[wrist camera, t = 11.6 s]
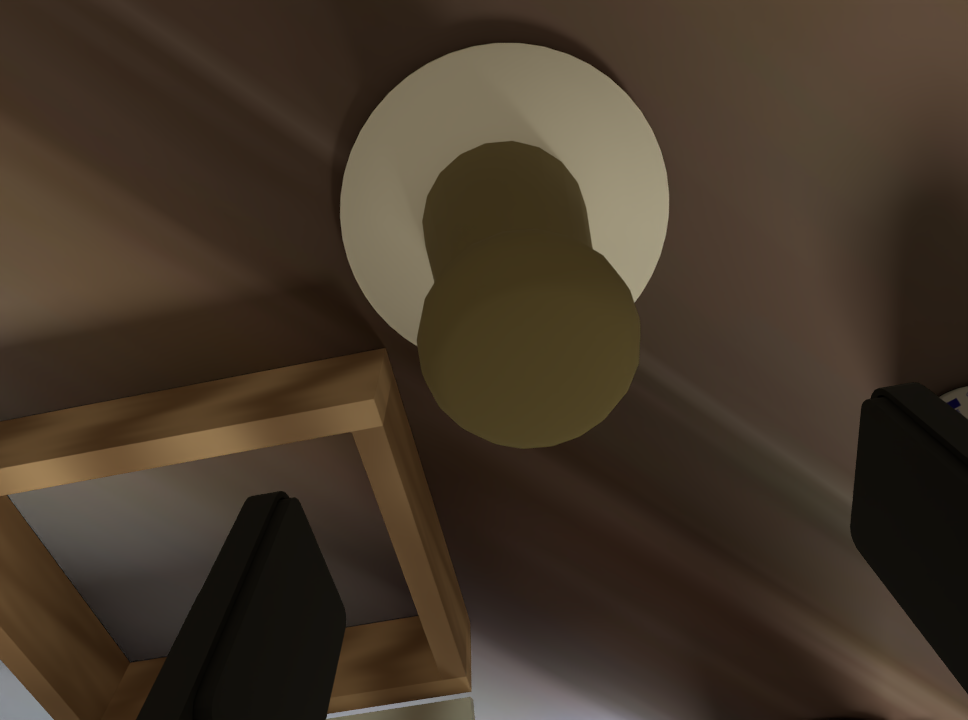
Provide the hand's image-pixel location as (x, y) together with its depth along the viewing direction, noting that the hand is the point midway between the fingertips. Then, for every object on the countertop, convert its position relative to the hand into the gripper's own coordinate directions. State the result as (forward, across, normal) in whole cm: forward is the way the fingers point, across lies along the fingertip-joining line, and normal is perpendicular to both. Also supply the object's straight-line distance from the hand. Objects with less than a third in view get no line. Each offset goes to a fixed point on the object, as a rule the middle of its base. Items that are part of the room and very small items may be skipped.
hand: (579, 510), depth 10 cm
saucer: (+15, 0, -1) cm, 15 cm away
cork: (+15, 0, -1) cm, 15 cm away
